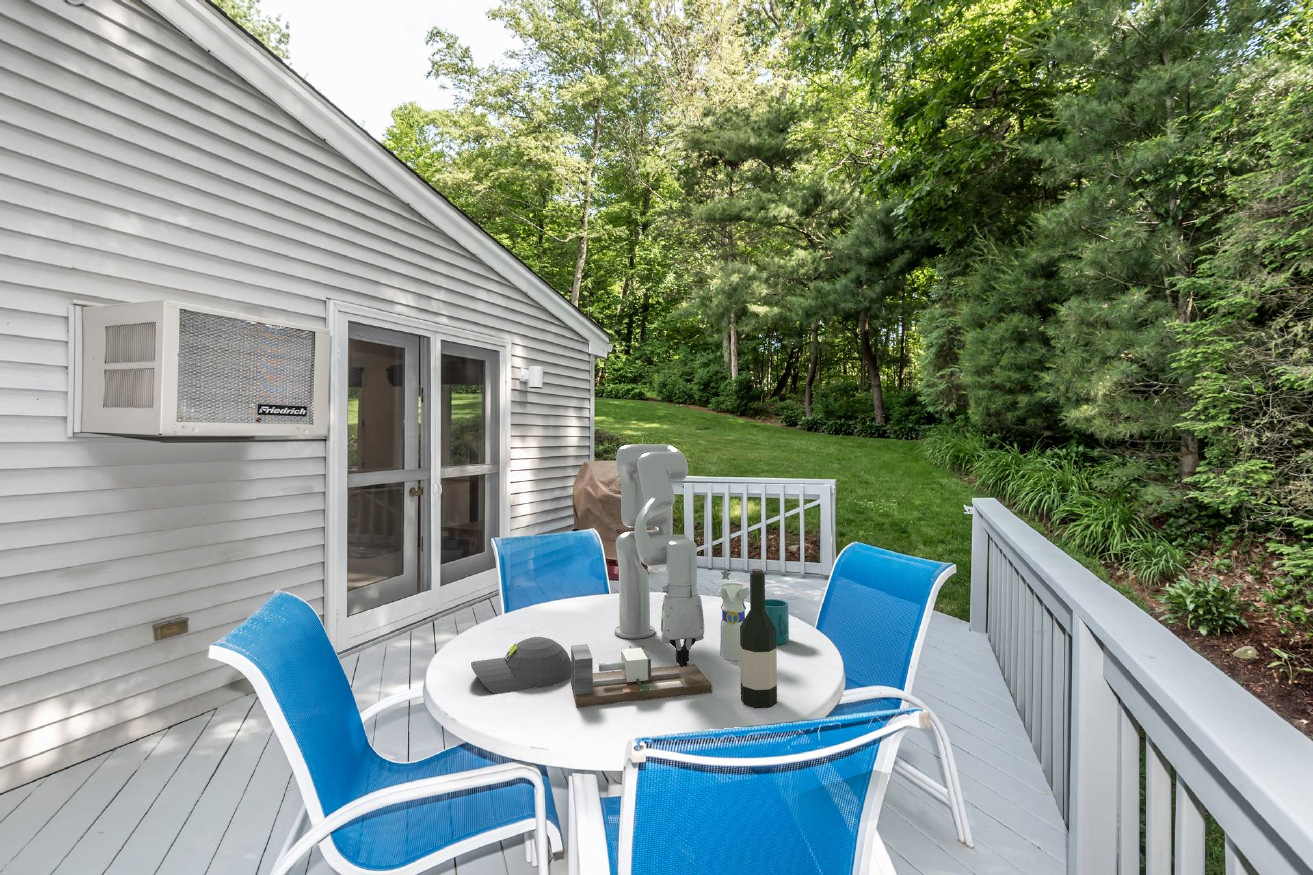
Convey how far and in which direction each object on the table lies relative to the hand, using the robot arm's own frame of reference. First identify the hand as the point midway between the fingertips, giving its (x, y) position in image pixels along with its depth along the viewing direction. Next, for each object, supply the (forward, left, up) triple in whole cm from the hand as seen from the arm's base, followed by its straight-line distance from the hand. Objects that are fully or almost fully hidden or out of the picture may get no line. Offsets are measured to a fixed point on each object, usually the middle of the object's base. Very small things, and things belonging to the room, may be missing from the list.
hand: (682, 664), depth 149 cm
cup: (-23, +35, -5) cm, 42 cm away
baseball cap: (-15, -38, -5) cm, 41 cm away
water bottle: (-15, +19, -5) cm, 25 cm away
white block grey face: (+1, -15, -1) cm, 15 cm away
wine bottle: (+14, +14, -5) cm, 20 cm away
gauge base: (0, -11, -5) cm, 12 cm away
